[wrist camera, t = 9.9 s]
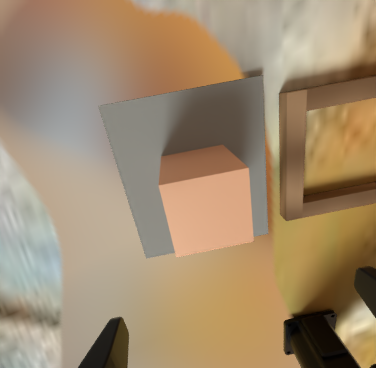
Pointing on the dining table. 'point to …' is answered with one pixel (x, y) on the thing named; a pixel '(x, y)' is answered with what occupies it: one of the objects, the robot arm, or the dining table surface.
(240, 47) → the dining table surface
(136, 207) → the mat
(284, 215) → the holder
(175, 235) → the block
